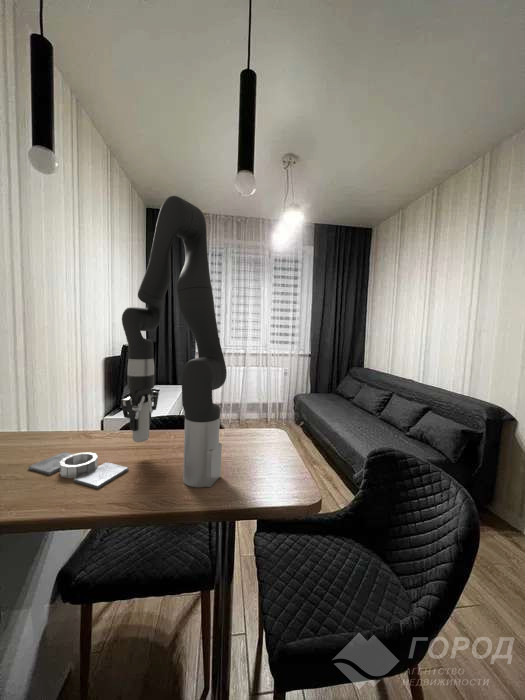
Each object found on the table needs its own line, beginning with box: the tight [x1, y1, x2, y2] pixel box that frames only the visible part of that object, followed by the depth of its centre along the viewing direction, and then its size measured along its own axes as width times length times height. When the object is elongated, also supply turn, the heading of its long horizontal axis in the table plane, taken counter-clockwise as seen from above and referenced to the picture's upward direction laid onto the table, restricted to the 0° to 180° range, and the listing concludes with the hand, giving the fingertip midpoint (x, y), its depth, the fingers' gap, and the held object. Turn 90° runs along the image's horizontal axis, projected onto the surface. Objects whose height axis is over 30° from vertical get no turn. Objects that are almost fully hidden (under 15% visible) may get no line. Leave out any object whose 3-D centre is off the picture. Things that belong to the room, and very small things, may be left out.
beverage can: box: [132, 401, 150, 443], centre depth 86 cm, size 5×5×12 cm
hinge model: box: [28, 451, 129, 490], centre depth 78 cm, size 25×10×3 cm, turn 72°
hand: (141, 427), depth 87 cm, fingers closed on beverage can, 5 cm apart
